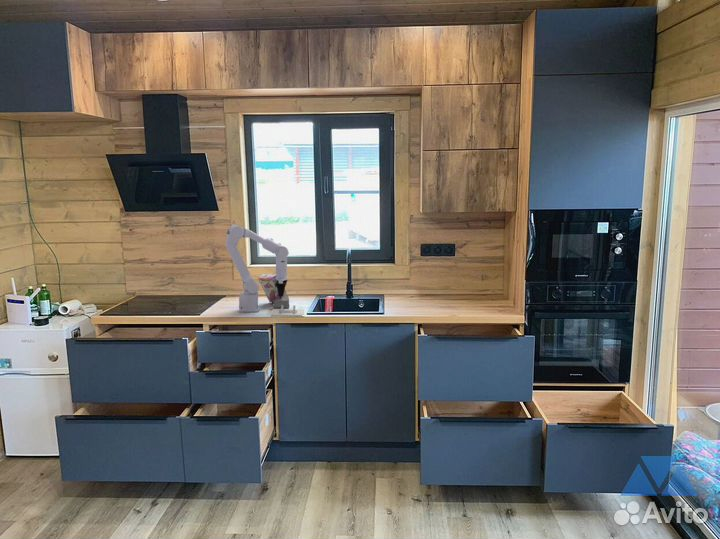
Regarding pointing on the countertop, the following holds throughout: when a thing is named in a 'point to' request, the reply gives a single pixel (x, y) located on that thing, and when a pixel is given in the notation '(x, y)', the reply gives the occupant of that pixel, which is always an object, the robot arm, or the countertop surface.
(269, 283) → the candy bar box
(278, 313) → the tray
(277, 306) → the block
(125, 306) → the countertop surface
